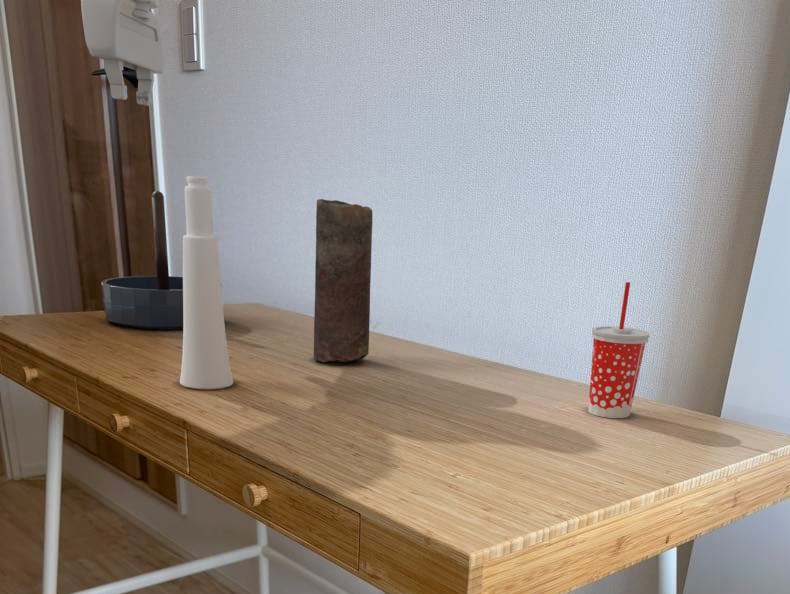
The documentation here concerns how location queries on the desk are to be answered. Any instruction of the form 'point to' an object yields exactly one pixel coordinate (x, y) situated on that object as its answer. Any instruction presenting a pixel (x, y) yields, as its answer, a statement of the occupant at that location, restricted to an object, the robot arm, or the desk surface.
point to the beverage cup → (615, 366)
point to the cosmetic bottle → (202, 296)
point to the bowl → (143, 302)
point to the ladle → (160, 240)
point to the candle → (342, 281)
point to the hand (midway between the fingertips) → (132, 102)
